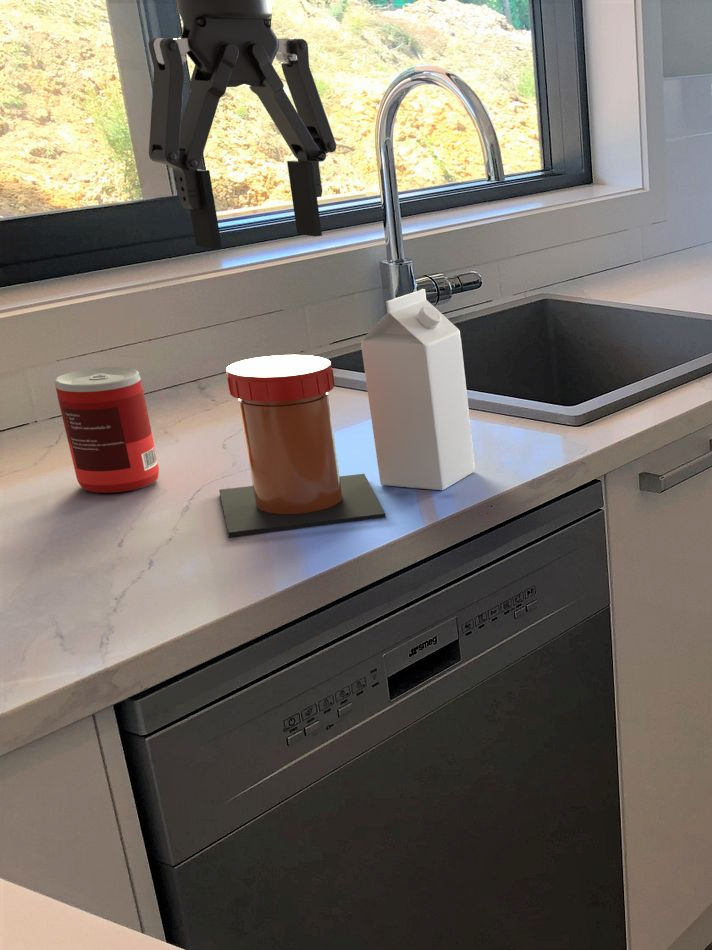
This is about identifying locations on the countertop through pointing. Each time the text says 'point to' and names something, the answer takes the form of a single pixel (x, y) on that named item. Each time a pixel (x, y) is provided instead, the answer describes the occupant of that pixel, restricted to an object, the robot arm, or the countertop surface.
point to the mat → (251, 520)
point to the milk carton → (418, 396)
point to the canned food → (108, 429)
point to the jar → (292, 454)
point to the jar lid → (280, 378)
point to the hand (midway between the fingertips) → (260, 240)
